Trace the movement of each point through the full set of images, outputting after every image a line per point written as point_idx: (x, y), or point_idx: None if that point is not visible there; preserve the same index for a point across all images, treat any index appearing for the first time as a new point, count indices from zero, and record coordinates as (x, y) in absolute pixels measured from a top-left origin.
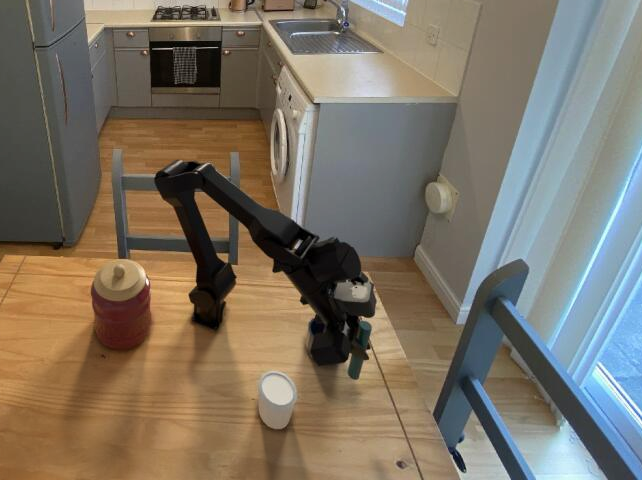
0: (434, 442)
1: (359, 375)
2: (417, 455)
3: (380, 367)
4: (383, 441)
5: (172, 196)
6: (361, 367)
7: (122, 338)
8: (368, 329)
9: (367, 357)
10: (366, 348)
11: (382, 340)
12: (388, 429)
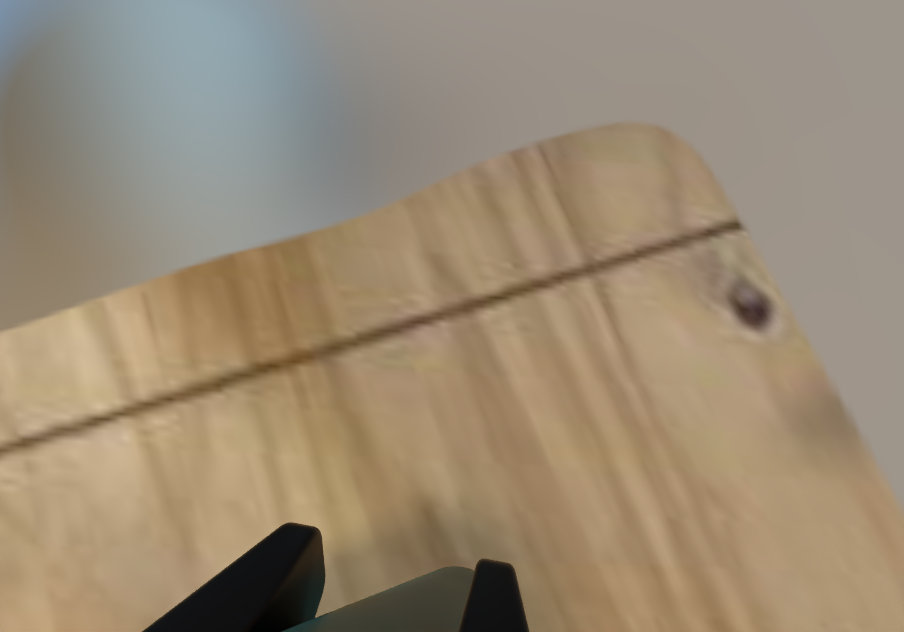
0: (557, 146)
1: (468, 572)
2: (662, 226)
3: (218, 378)
4: (668, 386)
5: None
6: (458, 584)
7: None
8: None
9: (518, 599)
10: (390, 629)
11: (37, 357)
12: (585, 356)
